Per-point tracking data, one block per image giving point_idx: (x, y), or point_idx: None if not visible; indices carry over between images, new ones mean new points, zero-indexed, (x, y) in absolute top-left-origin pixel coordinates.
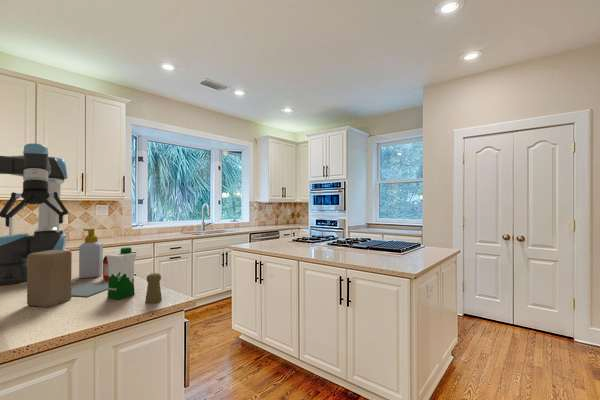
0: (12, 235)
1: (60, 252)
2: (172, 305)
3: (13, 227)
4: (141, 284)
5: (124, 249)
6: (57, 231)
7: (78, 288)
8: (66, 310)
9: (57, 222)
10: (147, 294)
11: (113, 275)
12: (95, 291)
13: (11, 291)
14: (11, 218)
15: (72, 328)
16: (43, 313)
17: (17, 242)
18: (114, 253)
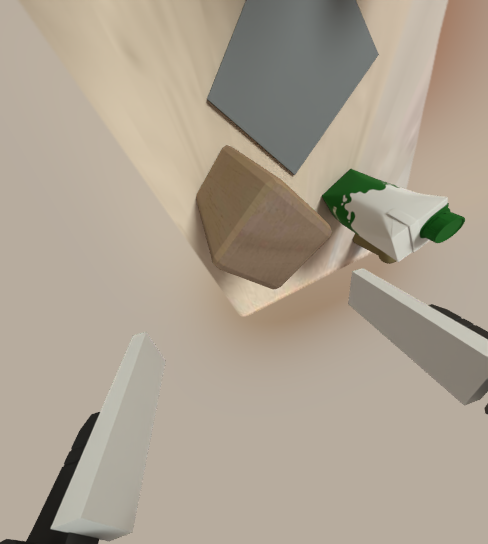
0: (144, 336)
1: (305, 260)
2: (368, 254)
3: (132, 389)
4: (410, 89)
5: (436, 242)
6: (352, 297)
7: (274, 55)
8: None
9: (401, 343)
10: (363, 246)
11: (357, 234)
12: (311, 135)
13: None
14: (131, 514)
15: (279, 292)
16: None
17: None
18: (413, 226)
